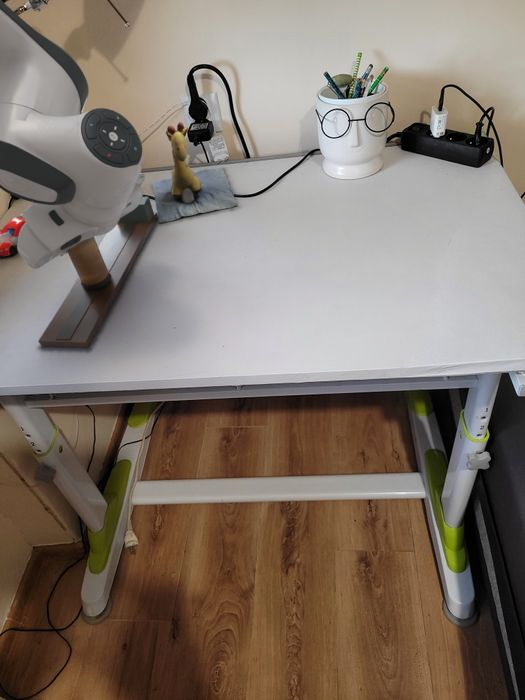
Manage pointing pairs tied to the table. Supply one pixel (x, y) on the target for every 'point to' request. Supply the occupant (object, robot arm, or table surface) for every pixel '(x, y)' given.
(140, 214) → the stop block
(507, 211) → the table surface
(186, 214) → the stuffed giraffe
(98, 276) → the upright wooden cylinder
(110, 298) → the track board
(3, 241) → the race car
